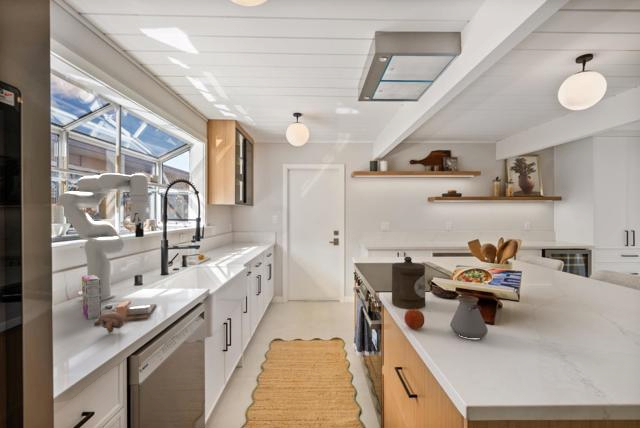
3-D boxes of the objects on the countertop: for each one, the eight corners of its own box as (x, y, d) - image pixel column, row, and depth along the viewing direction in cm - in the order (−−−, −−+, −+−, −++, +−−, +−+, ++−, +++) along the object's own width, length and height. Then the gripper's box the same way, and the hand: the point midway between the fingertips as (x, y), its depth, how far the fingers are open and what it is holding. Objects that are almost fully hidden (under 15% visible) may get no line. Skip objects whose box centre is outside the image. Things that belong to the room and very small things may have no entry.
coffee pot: (448, 327, 107) (448, 286, 107) (483, 330, 103) (483, 288, 103) (455, 354, 86) (454, 303, 86) (499, 359, 83) (499, 307, 83)
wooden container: (425, 310, 125) (425, 259, 125) (390, 307, 129) (389, 258, 129) (425, 301, 139) (424, 255, 139) (393, 298, 143) (392, 254, 143)
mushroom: (95, 335, 103) (94, 312, 103) (112, 328, 109) (111, 307, 109) (110, 338, 101) (109, 315, 101) (126, 331, 107) (126, 309, 107)
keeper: (116, 319, 116) (115, 307, 116) (122, 312, 124) (122, 301, 124) (124, 318, 117) (124, 306, 117) (131, 311, 125) (130, 300, 125)
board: (94, 325, 113) (94, 322, 113) (110, 311, 130) (110, 308, 130) (146, 319, 118) (146, 316, 118) (156, 306, 135) (156, 304, 135)
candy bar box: (81, 314, 126) (81, 276, 126) (96, 311, 130) (95, 274, 130) (86, 320, 119) (85, 280, 119) (101, 316, 123) (100, 278, 123)
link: (98, 318, 116) (98, 308, 116) (104, 314, 121) (104, 304, 121) (147, 314, 121) (147, 304, 121) (151, 310, 125) (151, 301, 125)
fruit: (424, 333, 101) (424, 310, 101) (403, 331, 104) (403, 308, 104) (424, 326, 108) (424, 304, 108) (405, 324, 110) (404, 303, 110)
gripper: (134, 200, 149) (135, 236, 149) (125, 198, 135) (126, 238, 135) (151, 200, 151) (151, 235, 151) (144, 199, 137) (144, 237, 137)
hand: (139, 236), depth 143 cm, fingers closed
